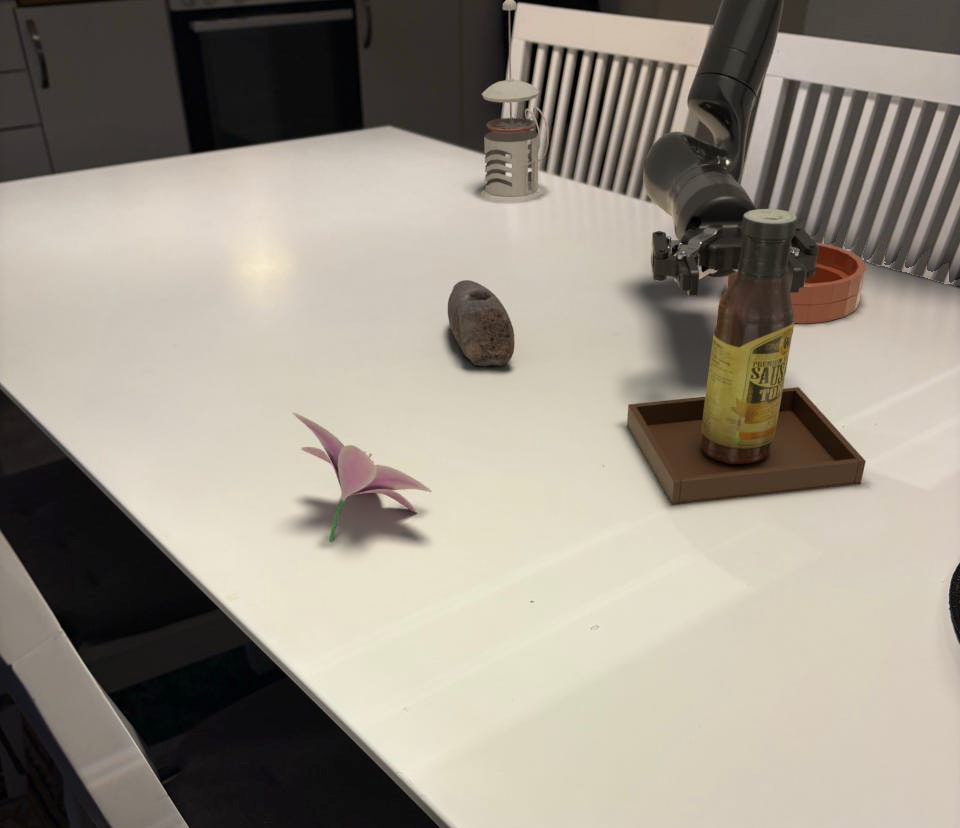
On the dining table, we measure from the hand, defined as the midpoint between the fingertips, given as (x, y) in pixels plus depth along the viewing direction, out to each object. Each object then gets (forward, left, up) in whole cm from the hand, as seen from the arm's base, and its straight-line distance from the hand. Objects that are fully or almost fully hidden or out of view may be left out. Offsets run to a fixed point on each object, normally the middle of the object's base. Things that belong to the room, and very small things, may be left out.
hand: (745, 283), depth 88 cm
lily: (+34, +10, -13) cm, 38 cm away
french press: (+6, -76, -13) cm, 77 cm away
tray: (+1, +6, -13) cm, 14 cm away
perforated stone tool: (+20, -22, -13) cm, 33 cm away
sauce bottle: (+1, +6, -13) cm, 14 cm away
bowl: (-17, -27, -13) cm, 35 cm away
